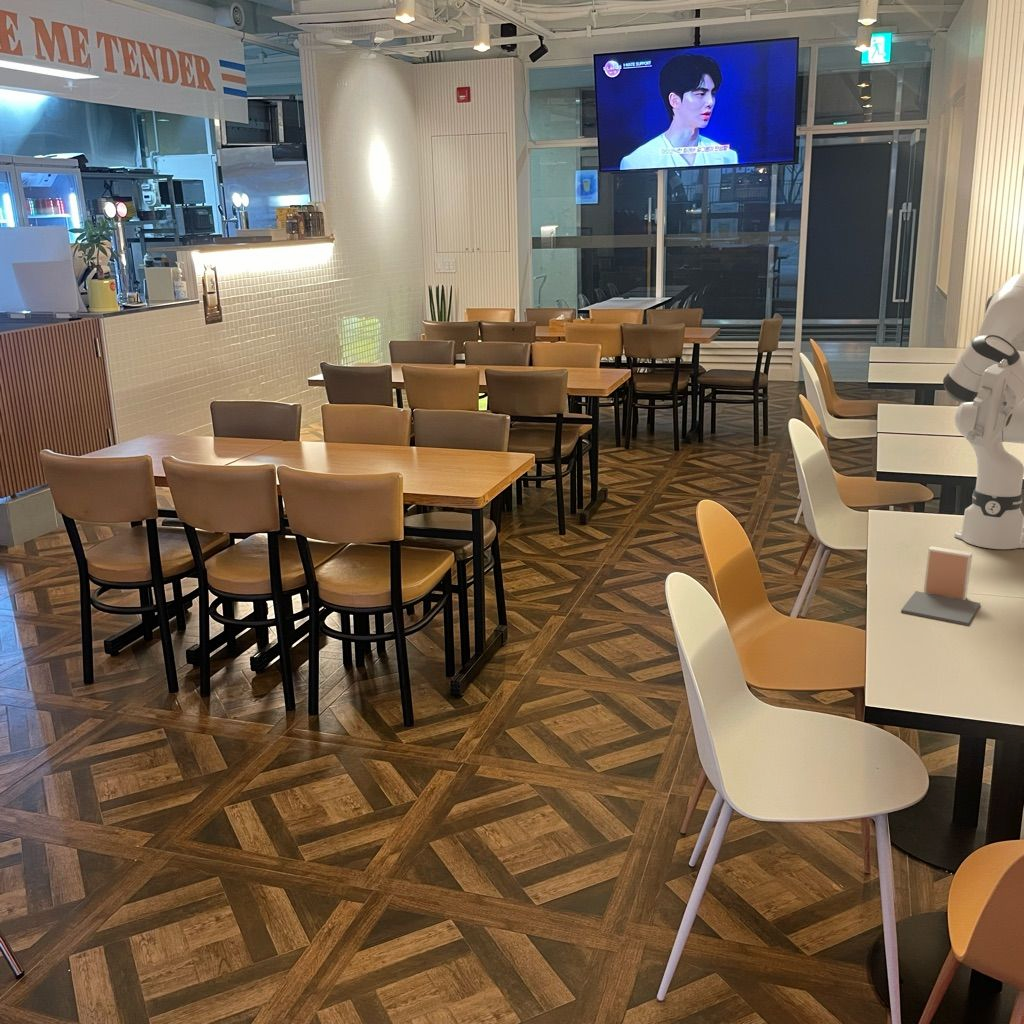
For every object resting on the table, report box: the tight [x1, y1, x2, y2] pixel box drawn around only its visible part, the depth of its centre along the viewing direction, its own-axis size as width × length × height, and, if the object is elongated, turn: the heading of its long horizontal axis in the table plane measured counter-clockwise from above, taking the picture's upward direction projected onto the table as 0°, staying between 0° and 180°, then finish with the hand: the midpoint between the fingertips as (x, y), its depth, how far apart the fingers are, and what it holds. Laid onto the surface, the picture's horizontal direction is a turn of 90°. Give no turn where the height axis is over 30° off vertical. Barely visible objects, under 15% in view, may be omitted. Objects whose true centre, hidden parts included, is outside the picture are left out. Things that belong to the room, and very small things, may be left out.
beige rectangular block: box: [923, 545, 973, 600], centre depth 230 cm, size 3×9×11 cm, turn 56°
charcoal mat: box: [900, 590, 981, 626], centre depth 223 cm, size 14×14×1 cm
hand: (972, 421), depth 227 cm, fingers open, 8 cm apart
